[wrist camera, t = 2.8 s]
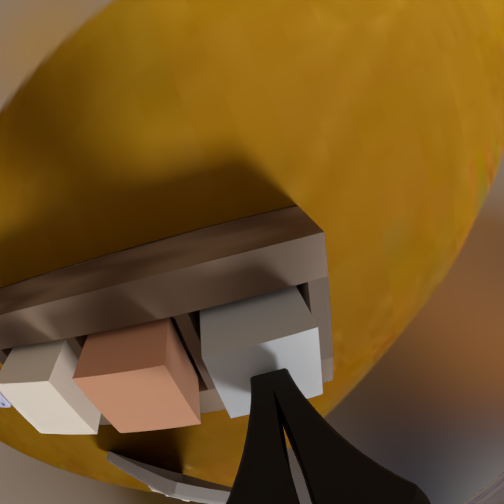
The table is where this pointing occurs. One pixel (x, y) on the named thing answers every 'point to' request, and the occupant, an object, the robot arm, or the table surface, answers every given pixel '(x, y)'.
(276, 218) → the brown slotted tray
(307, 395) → the slate key
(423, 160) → the table surface
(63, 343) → the ivory key
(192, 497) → the light switch
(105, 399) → the rust key
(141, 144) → the table surface
